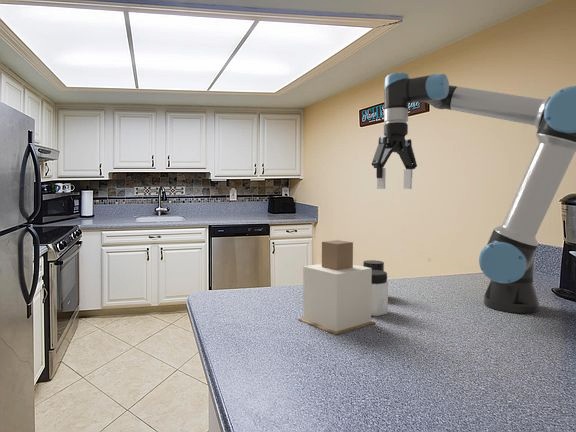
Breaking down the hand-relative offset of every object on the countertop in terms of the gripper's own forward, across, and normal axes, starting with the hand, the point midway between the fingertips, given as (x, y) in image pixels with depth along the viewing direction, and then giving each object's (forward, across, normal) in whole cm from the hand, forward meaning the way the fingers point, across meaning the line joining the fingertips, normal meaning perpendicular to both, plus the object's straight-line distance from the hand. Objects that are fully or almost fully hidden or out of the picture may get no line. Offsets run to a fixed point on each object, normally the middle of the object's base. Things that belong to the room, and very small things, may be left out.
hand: (394, 188), depth 135 cm
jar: (+37, +16, +6) cm, 41 cm away
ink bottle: (+37, +3, -6) cm, 38 cm away
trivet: (+37, +32, +6) cm, 49 cm away
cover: (+36, +31, +6) cm, 48 cm away
